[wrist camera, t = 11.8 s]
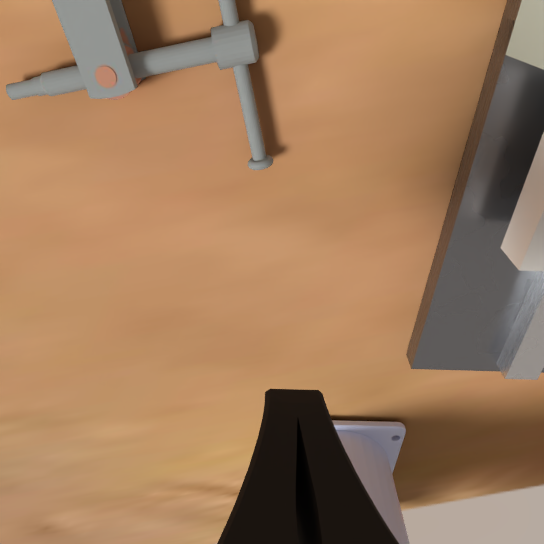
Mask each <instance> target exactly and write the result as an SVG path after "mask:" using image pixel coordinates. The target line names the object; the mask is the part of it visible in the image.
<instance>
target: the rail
mask: <svg viewBox="0 0 544 544" xmlns="http://www.w3.org/2000/svg"><path fill="white" fill-rule="evenodd" d="M521 1H522V0H507V3H506V7H505V10H504V14H503V17H502V21H501V24H500V28H499V31H498V35H497V38H496V42H495V46H494V49H493V53H492V56H491V60H490V63H489V67H488V70H487V74H486V77H485V81H484V84H483V88H482V91H481V95H480V98H479V102H478V105H477V109H476V112H475V116H474V119H473V123H472V126H471V130H470V133H469V137H468V140H467V144H466V147H465V151H464V154H463V158H462V161H461V165H460V168H459V172H458V175H457V179H456V182H455V186H454V189H453V193H452V196H451V200H450V203H449V207H448V210H447V214H446V217H445V221H444V225H443V228H442V232H441V235H440V239H439V242H438V246H437V249H436V253H435V256H434V260H433V263H432V267H431V270H430V274H429V277H428V281H427V284H426V288H425V291H424V295H423V298H422V302H421V305H420V309H419V312H418V316H417V319H416V323H415V326H414V330H413V333H412V337H411V340H410V344H409V347H408V351H407V354H406V355H407V358H408V361H409V364H410V366H411V369H438V370H473V371H501V373H502V375H503V376H504V378H505V379H532V380H537V379H538V377H539V375H540V373H541V372H543V373H544V271H520V270H518V269H517V267H516V266H515V265H514V264H513V263H512V261H511V260H510V259H509V258H508V257H507V255H506V254H505V253H504V252H503V250H502V249H501V245H502V242H503V240H504V237H505V234H506V232H507V229H508V226H509V224H510V221H511V218H512V216H513V213H514V210H515V208H516V205H517V202H518V199H519V197H520V194H521V191H522V189H523V186H524V183H525V181H526V178H527V175H528V173H529V170H530V167H531V164H532V162H533V159H534V156H535V154H536V151H537V148H538V146H539V143H540V140H541V138H542V135H543V132H544V70H543V69H541V68H538V67H536V66H533V65H530V64H528V63H525V62H523V61H520V60H517V59H515V58H512V57H510V56H507V55H506V51H507V48H508V45H509V41H510V38H511V34H512V31H513V27H514V25H515V21H516V18H517V14H518V11H519V8H520V4H521Z"/></svg>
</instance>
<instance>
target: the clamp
mask: <svg viewBox="0 0 544 544" xmlns="http://www.w3.org/2000/svg"><path fill="white" fill-rule="evenodd" d="M218 1H219V5H220V10H221V14H222V19H223V24H224V25H221V26H217V27H212V28H211V37H208V38H203V39H199V40H194V41H189V42H184V43H180V44H175V45H170V46H166V47H161V48H156V49H152V50H147V51H142V52H138V51H137V48H136V45H135V42H134V39H133V36H132V32H131V29H130V26H129V23H128V20H127V17H126V14H125V10H124V7H123V4H122V1H121V0H52V2H53V4H54V7H55V9H56V12H57V15H58V17H59V20H60V22H61V25H62V27H63V30H64V33H65V35H66V38H67V40H68V43H69V45H70V48H71V50H72V53H73V56H74V58H75V61H76V63H77V66H72V67H67V68H62V69H58V70H53V71H48V72H44V73H42V74H41V76H38V77H33V78H32V79H31V80H26V81H22V82H17V83H12V84H7V85H6V91H7V94H8V96H9V97H10V98H11V99H12V100H16V99H21V98H25V97H30V96H35V95H38V96H43V95H47V94H48V95H49V96H55V95H60V94H65V93H69V92H74V91H79V90H84V89H87V91H88V94H89V97H90V98H95V99H102V98H107V99H113V100H116V99H121V98H124V97H125V96H127V95H128V94H129V93H130V92H131V91H132V90H134V89H136V88H137V87H138V86H137V85H138V84H139V82H140V81H141V80H143V79H145V78H146V77H147V76H151V75H156V74H161V73H166V72H171V71H175V70H180V69H185V68H190V67H195V66H200V65H204V64H209V63H214V62H217V63H218V66H219V68H220V70H222V69H227V68H232V67H233V70H234V74H235V79H236V84H237V88H238V93H239V97H240V102H241V107H242V111H243V116H244V121H245V125H246V130H247V134H248V139H249V144H250V148H251V153H252V157H253V158H251V159H250V160H249V161H248V166H249V168H250V169H253V170H262V169H265V168H268V167H270V166H271V165H272V163H273V158H272V157H271V156H269V155H266V152H265V147H264V142H263V137H262V132H261V127H260V122H259V117H258V112H257V107H256V102H255V97H254V92H253V87H252V82H251V77H250V72H249V67H248V64H251V63H256V62H257V60H258V58H259V51H258V45H257V39H256V34H255V29H254V25H253V23H252V22H250V21H249V20H245V21H240V22H239V17H238V12H237V7H236V2H235V0H218Z"/></svg>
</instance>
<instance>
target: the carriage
mask: <svg viewBox="0 0 544 544" xmlns="http://www.w3.org/2000/svg"><path fill="white" fill-rule="evenodd" d="M501 249H502V250H503V252H504V253H505V254H506V255H507V257H508V258H509V259H510V260H511V261H512V263H513V264H514V265H515V266H516V267H517V269H518V270H520V271H544V132H543V135H542V138H541V140H540V143H539V146H538V148H537V151H536V154H535V156H534V159H533V162H532V164H531V167H530V170H529V173H528V175H527V178H526V181H525V183H524V186H523V189H522V191H521V194H520V197H519V199H518V202H517V205H516V208H515V210H514V213H513V216H512V218H511V221H510V224H509V226H508V229H507V232H506V234H505V237H504V240H503V242H502V245H501Z"/></svg>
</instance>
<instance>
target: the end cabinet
mask: <svg viewBox="0 0 544 544" xmlns="http://www.w3.org/2000/svg"><path fill="white" fill-rule="evenodd" d="M506 55H507V56H510V57H512V58H515V59H517V60H520V61H523V62H525V63H528V64H530V65H533V66H536V67H538V68H541V69H543V70H544V0H522V1H521V4H520V8H519V11H518V14H517V18H516V21H515V25H514V27H513V31H512V34H511V38H510V41H509V45H508V48H507V51H506Z"/></svg>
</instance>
